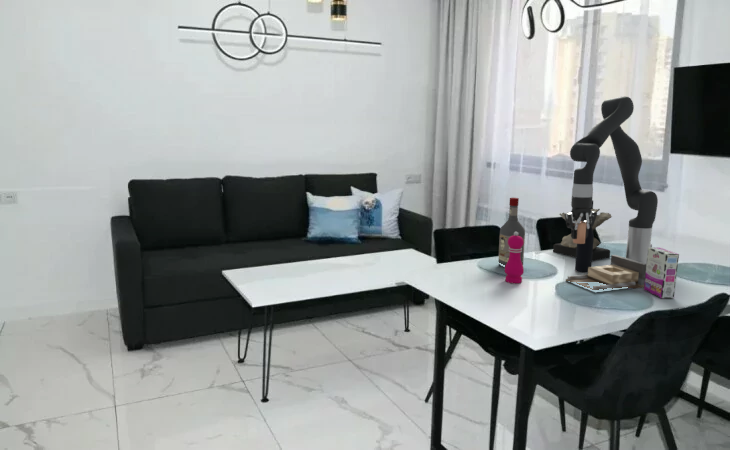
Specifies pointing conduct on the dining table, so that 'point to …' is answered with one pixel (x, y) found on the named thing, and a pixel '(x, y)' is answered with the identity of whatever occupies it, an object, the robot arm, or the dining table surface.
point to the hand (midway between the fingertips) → (579, 238)
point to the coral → (570, 248)
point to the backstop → (623, 263)
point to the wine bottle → (585, 252)
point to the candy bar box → (661, 272)
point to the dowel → (580, 233)
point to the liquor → (510, 233)
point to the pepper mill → (514, 259)
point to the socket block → (612, 274)
